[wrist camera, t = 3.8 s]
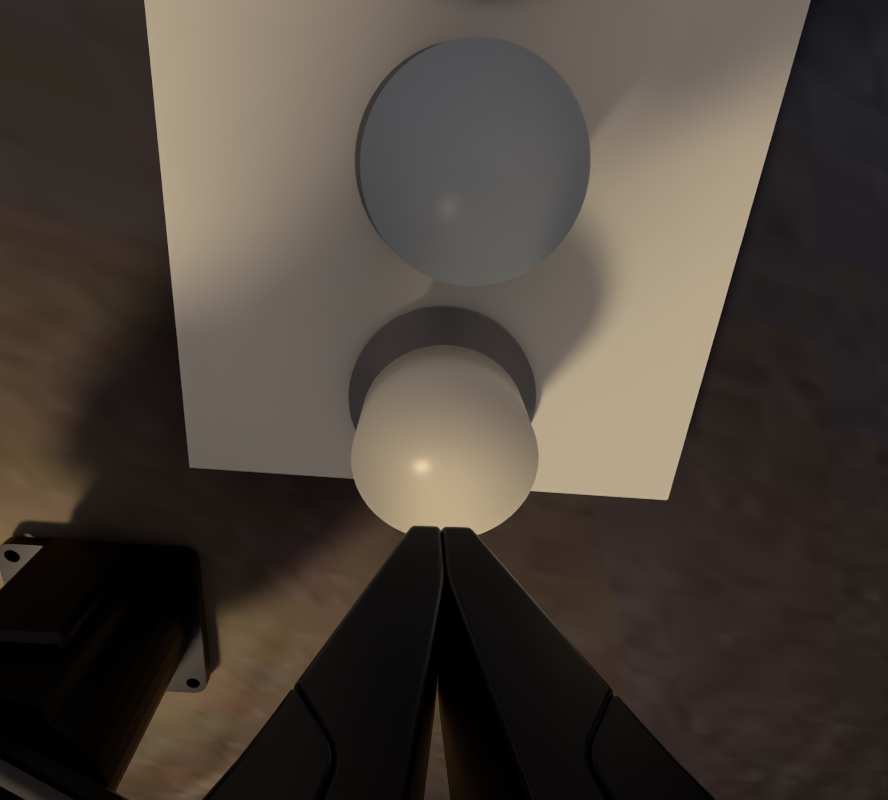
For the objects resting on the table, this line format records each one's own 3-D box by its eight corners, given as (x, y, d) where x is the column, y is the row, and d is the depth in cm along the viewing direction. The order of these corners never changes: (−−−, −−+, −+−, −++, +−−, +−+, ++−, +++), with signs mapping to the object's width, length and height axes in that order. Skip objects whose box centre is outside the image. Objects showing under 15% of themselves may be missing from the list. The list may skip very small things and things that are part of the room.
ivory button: (512, 497, 15) (523, 545, 13) (358, 487, 15) (348, 534, 13) (536, 352, 13) (553, 383, 11) (364, 338, 13) (353, 367, 11)
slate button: (548, 274, 13) (568, 295, 11) (367, 259, 12) (356, 276, 11) (582, 67, 11) (611, 50, 9) (375, 46, 11) (364, 23, 9)
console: (644, 466, 19) (672, 507, 17) (214, 435, 18) (183, 474, 16) (945, -689, 10) (1093, -932, 8) (118, -843, 9) (18, -1159, 7)
